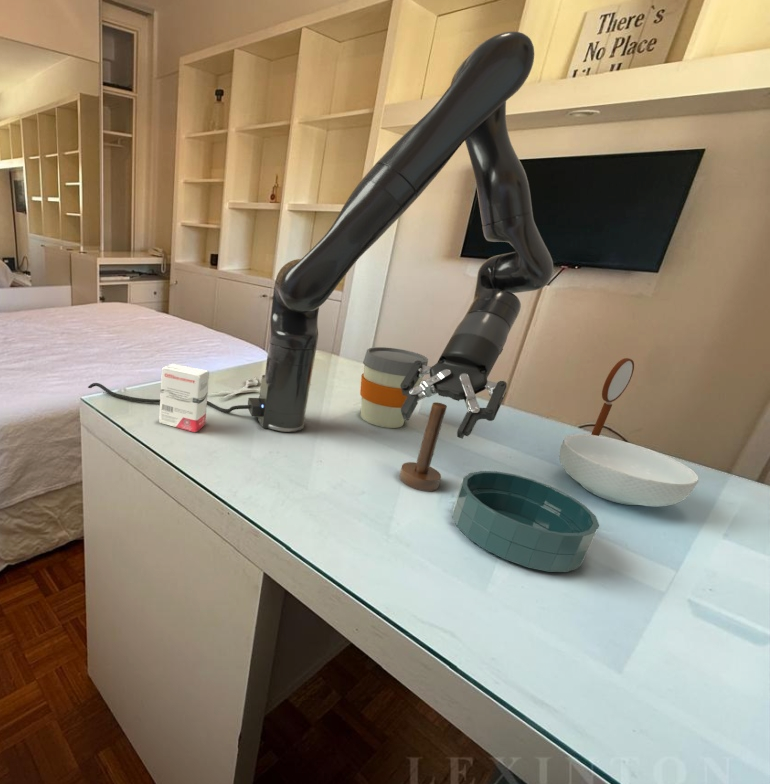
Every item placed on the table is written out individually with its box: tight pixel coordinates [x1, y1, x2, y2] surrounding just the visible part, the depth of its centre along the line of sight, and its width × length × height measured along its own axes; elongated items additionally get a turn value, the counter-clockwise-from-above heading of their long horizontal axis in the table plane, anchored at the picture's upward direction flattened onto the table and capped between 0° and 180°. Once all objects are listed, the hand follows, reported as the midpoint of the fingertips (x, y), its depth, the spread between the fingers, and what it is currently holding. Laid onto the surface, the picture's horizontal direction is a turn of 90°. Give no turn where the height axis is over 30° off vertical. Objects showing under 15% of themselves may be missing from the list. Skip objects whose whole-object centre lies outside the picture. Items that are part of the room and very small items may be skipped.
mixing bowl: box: [451, 470, 600, 573], centre depth 63 cm, size 15×15×6 cm
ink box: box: [158, 363, 210, 433], centre depth 90 cm, size 8×5×12 cm, turn 63°
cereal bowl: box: [558, 433, 699, 507], centre depth 76 cm, size 17×17×7 cm
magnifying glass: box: [590, 357, 635, 436], centre depth 87 cm, size 9×2×20 cm, turn 117°
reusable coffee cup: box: [359, 346, 429, 429], centre depth 99 cm, size 13×13×15 cm
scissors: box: [209, 376, 260, 400], centre depth 112 cm, size 11×1×20 cm
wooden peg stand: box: [398, 402, 448, 492], centre depth 74 cm, size 6×6×14 cm
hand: (431, 426), depth 72 cm, fingers open, 8 cm apart
